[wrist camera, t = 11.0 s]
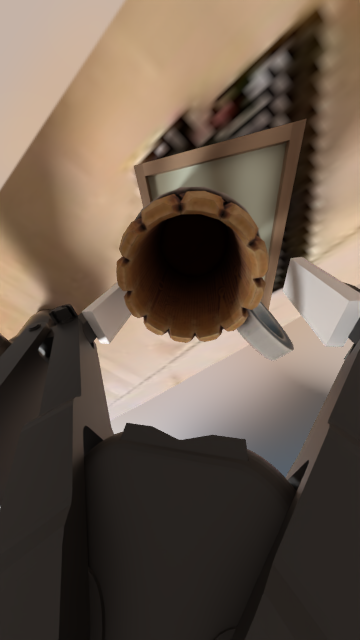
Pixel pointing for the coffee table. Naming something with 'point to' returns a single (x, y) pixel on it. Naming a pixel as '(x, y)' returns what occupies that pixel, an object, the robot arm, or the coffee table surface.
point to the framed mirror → (238, 180)
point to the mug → (199, 270)
